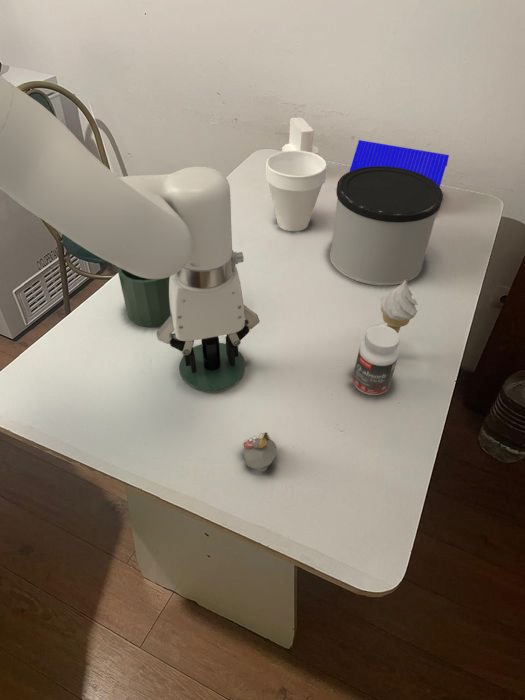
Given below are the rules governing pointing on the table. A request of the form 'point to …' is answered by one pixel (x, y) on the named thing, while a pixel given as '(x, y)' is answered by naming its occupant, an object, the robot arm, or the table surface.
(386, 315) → the ice cream cone
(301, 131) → the cylinder with rectangular tab
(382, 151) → the blue corrugated sheet
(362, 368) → the pill bottle
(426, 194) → the container
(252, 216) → the table surface
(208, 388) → the trash can lid
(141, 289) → the trash can
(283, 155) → the cup
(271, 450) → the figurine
